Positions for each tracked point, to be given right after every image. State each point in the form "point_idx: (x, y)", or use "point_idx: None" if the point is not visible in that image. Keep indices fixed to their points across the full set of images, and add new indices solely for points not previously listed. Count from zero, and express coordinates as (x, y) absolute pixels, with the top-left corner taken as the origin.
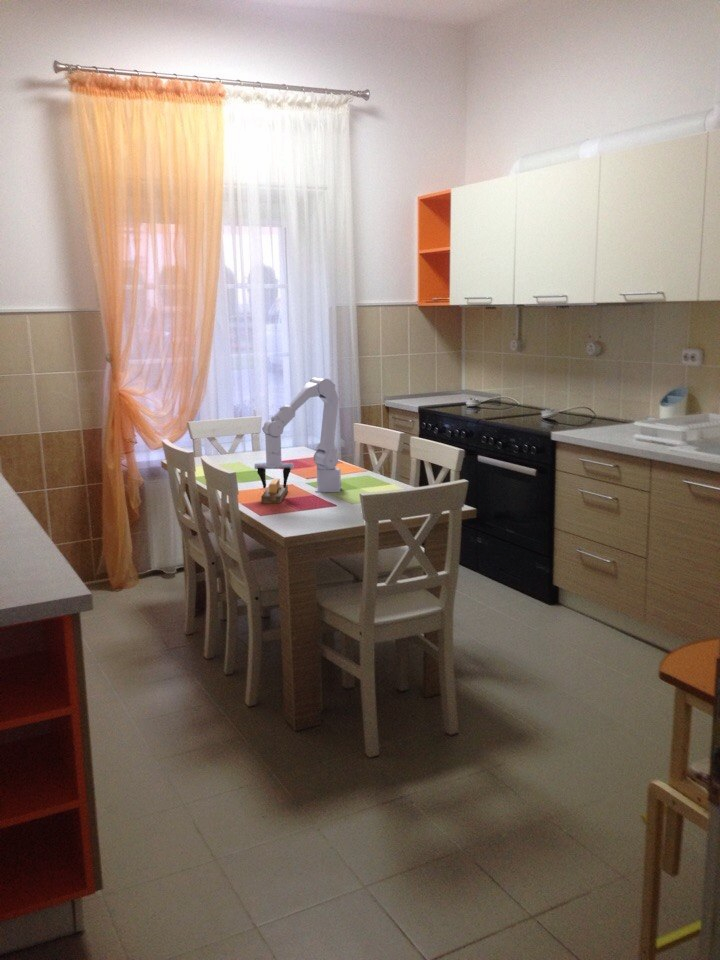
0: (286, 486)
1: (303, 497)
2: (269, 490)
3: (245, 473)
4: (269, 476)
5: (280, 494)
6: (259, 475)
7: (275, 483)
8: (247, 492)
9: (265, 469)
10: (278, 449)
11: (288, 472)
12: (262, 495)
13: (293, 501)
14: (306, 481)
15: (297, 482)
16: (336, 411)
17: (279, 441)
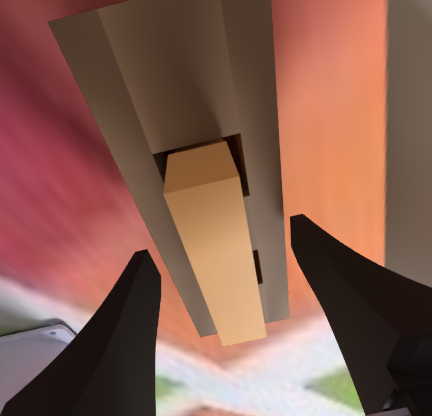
0: (190, 315)
1: (50, 242)
2: (227, 146)
3: None
4: (319, 395)
5: (108, 125)
6: (415, 282)
7: (186, 230)
8: (382, 252)
9: (364, 406)
10: None
11: (3, 409)
12: (268, 33)
13: (32, 137)
14: (192, 393)
15: (216, 382)
16: None
17: None
